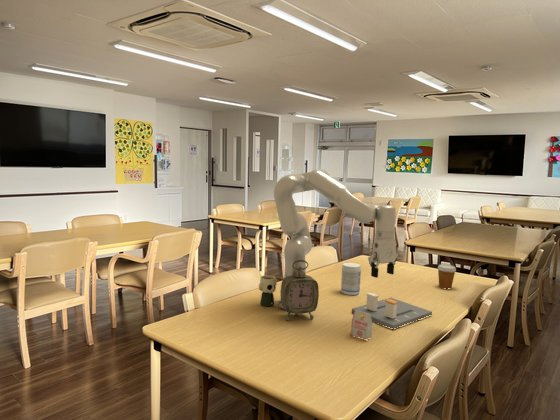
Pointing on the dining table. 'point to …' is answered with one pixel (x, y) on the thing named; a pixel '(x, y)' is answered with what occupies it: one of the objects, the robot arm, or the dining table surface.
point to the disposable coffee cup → (446, 275)
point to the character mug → (267, 289)
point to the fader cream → (372, 301)
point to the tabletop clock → (299, 293)
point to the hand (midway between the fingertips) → (382, 275)
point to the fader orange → (391, 308)
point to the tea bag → (361, 325)
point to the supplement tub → (350, 278)
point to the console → (403, 315)
